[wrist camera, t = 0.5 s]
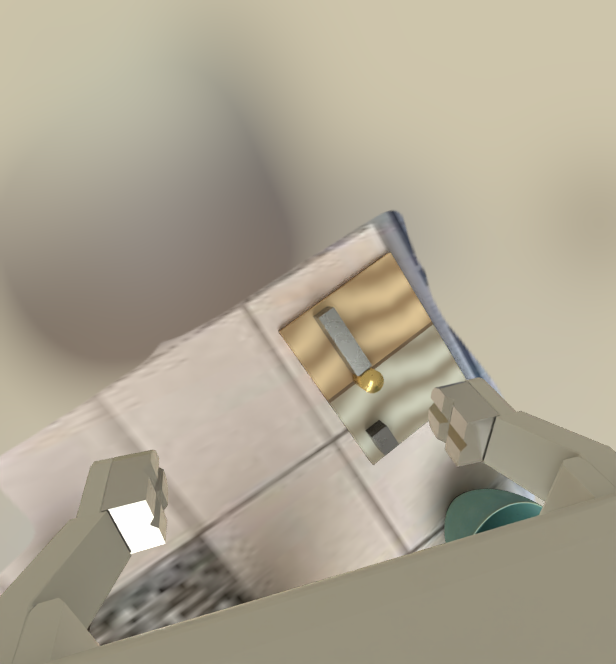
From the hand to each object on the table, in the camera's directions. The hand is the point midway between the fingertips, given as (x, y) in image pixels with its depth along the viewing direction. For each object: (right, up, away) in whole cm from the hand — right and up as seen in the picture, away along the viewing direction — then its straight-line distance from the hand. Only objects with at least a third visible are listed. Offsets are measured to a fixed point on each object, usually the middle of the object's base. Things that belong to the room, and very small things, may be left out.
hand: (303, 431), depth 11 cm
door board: (+12, -2, +54) cm, 56 cm away
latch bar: (+6, 0, +51) cm, 51 cm away
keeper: (+12, -14, +54) cm, 57 cm away
